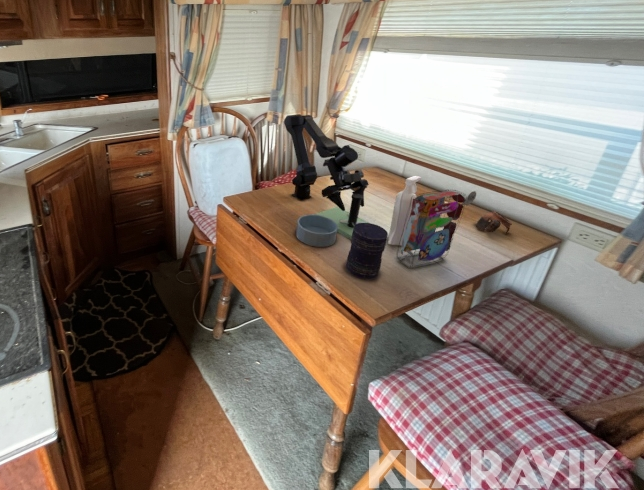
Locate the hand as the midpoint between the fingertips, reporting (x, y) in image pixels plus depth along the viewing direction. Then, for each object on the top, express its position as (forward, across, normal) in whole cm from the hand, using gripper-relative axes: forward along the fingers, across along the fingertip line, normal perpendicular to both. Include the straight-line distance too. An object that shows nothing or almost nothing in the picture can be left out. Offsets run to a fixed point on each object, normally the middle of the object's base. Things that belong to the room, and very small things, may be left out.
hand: (353, 208), depth 136 cm
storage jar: (+22, -15, -9) cm, 28 cm away
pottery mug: (+22, +49, -9) cm, 54 cm away
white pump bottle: (+16, +9, -3) cm, 19 cm away
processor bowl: (+6, -16, +6) cm, 19 cm away
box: (+24, +11, -12) cm, 29 cm away
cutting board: (+4, 0, +9) cm, 10 cm away
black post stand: (+6, 0, +5) cm, 7 cm away
